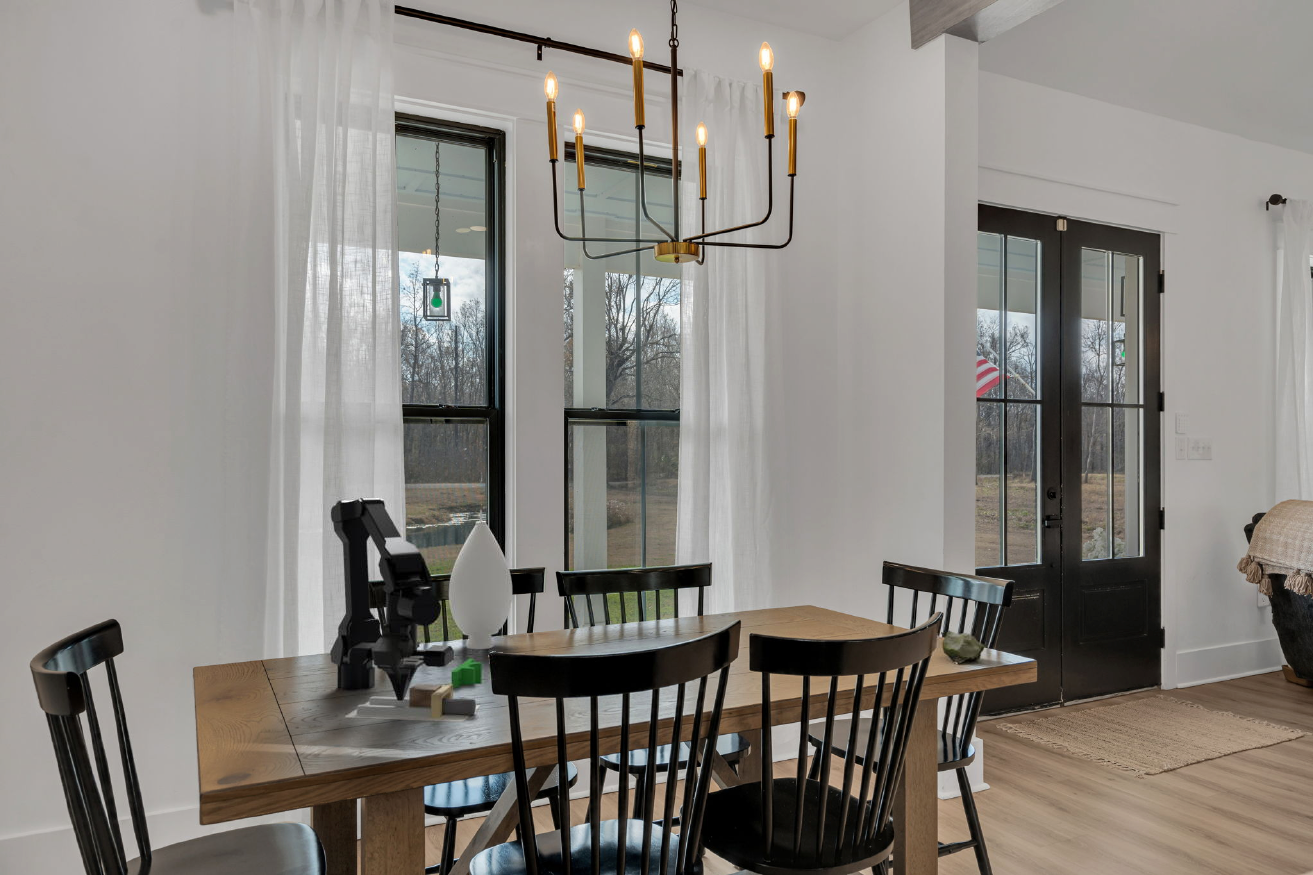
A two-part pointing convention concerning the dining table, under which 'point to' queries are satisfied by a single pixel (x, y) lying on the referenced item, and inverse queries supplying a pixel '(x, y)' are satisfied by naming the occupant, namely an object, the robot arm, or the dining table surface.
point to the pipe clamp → (467, 673)
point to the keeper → (421, 695)
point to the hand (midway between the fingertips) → (400, 700)
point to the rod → (458, 706)
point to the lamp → (480, 588)
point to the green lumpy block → (961, 646)
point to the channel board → (408, 708)
